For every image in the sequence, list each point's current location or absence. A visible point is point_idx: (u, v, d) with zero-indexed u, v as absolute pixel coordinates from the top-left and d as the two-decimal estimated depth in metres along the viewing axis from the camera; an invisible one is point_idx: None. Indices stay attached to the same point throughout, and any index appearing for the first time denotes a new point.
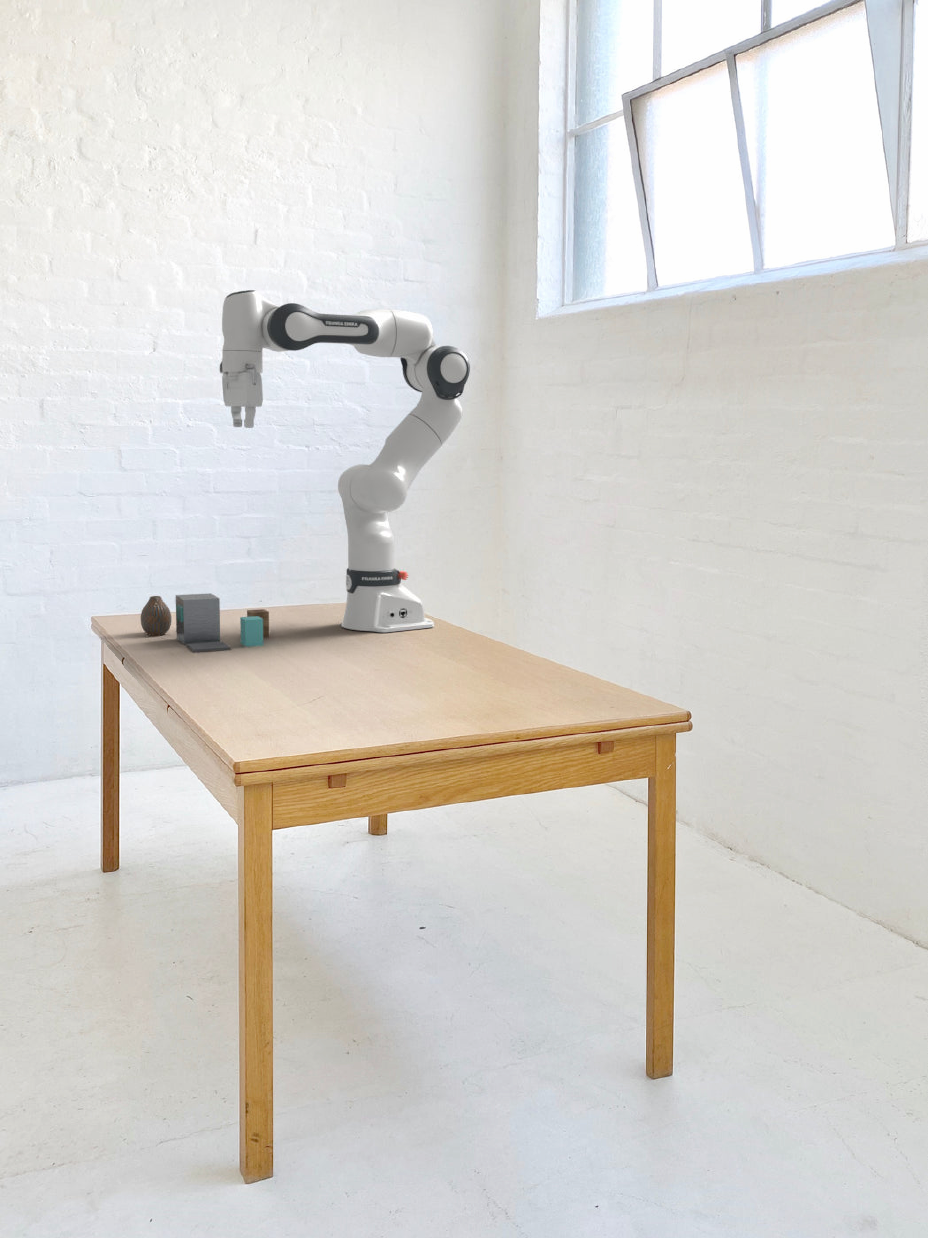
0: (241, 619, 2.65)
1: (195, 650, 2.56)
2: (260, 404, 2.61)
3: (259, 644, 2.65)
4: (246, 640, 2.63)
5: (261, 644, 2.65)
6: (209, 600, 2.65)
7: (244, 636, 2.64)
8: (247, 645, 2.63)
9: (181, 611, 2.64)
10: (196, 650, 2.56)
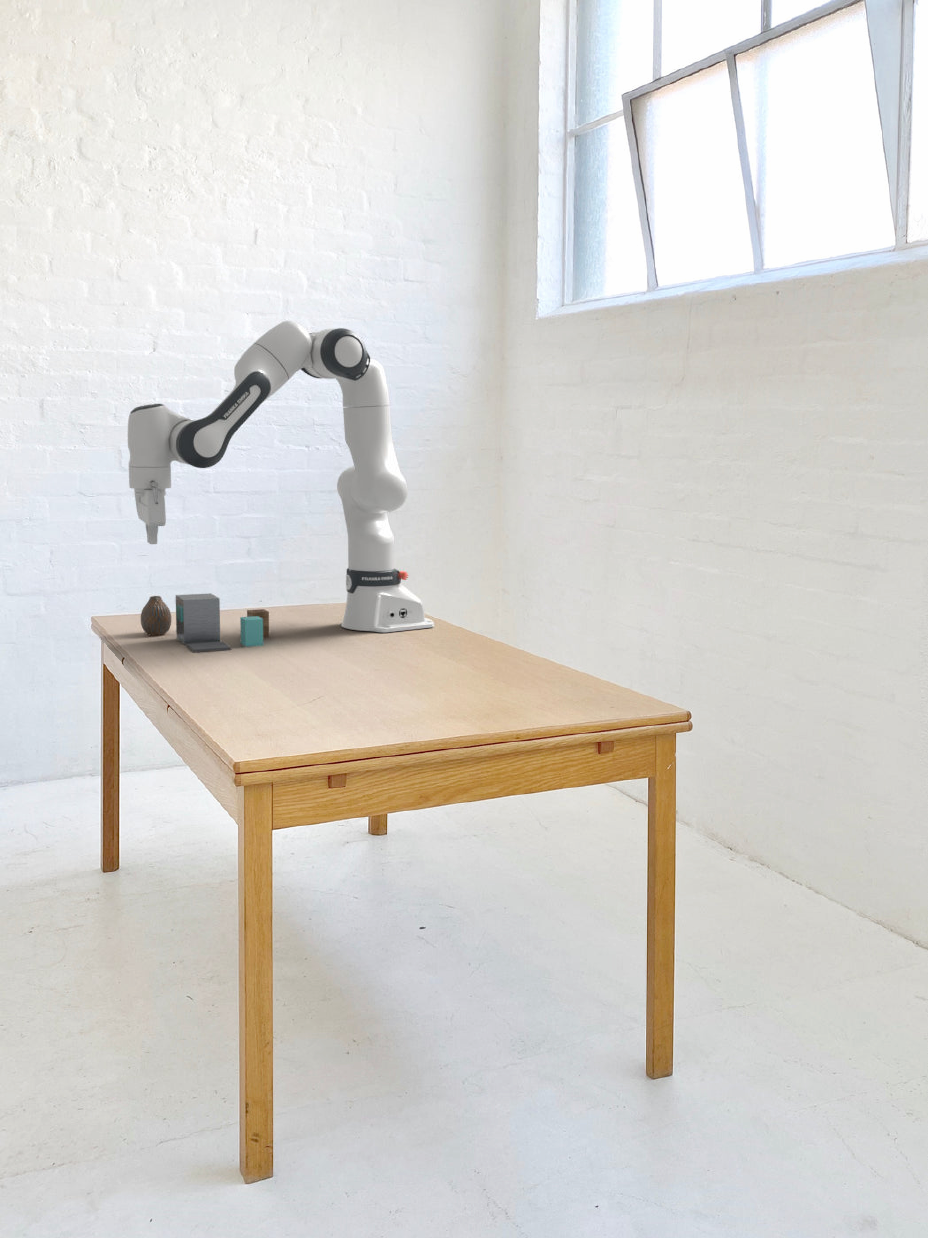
0: (241, 619, 2.65)
1: (195, 650, 2.56)
2: (163, 524, 2.52)
3: (259, 644, 2.65)
4: (246, 640, 2.63)
5: (261, 644, 2.65)
6: (209, 600, 2.65)
7: (244, 636, 2.64)
8: (247, 645, 2.63)
9: (181, 611, 2.64)
10: (196, 650, 2.56)
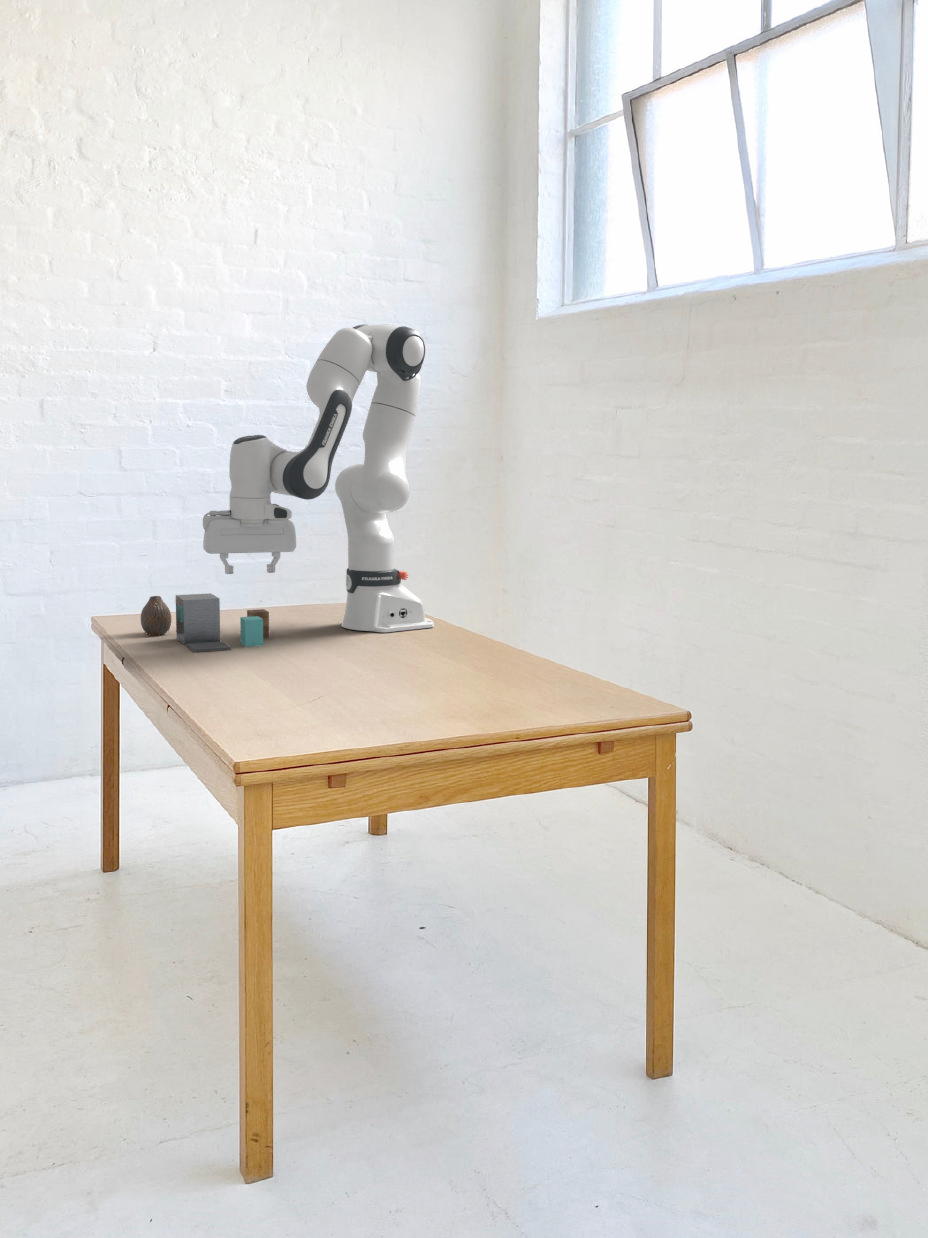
0: (241, 619, 2.65)
1: (195, 650, 2.56)
2: (207, 551, 2.57)
3: (259, 644, 2.65)
4: (246, 640, 2.63)
5: (261, 644, 2.65)
6: (209, 600, 2.65)
7: (244, 636, 2.64)
8: (247, 645, 2.63)
9: (181, 611, 2.64)
10: (196, 650, 2.56)
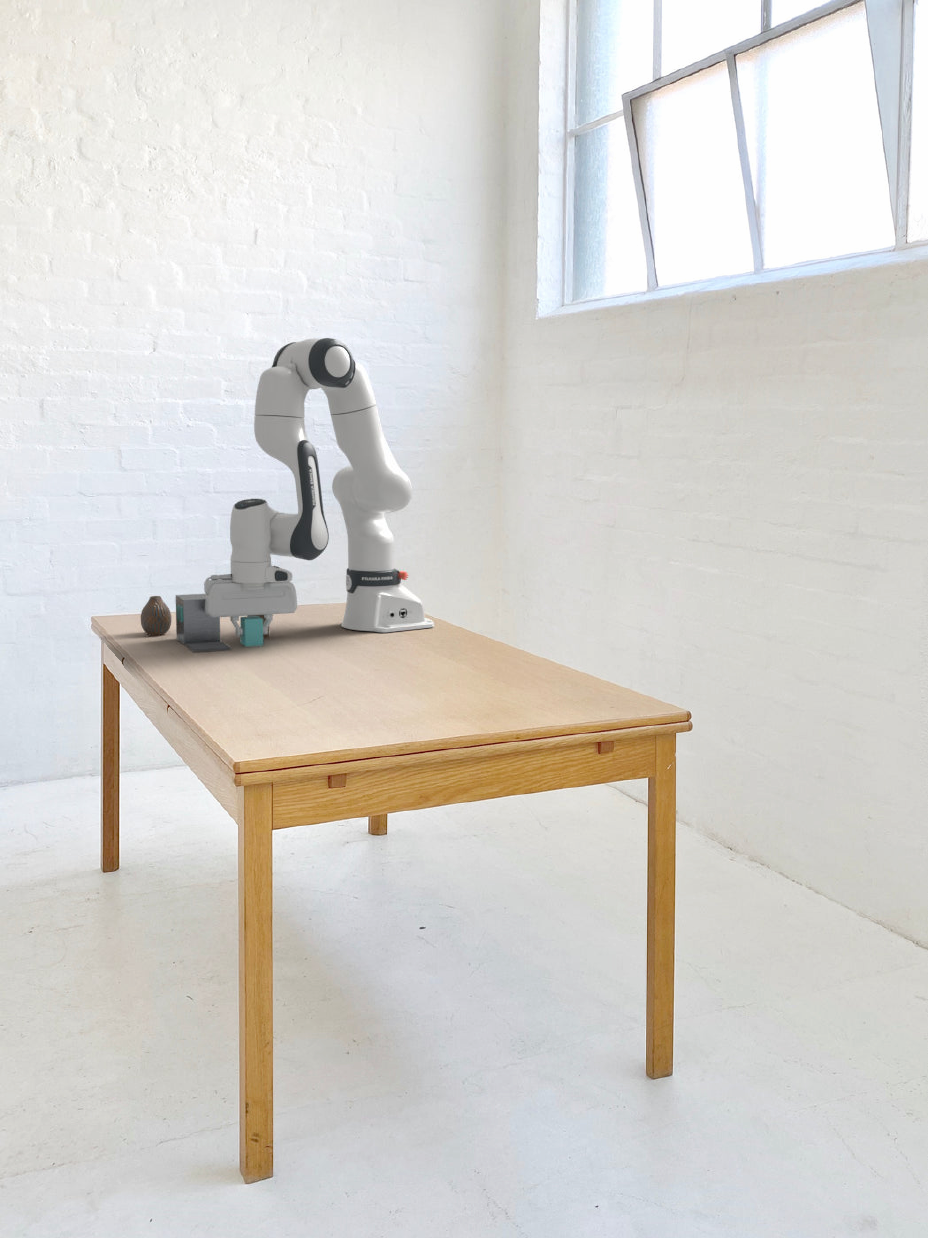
0: (241, 619, 2.65)
1: (195, 650, 2.56)
2: (209, 615, 2.60)
3: (259, 644, 2.65)
4: (246, 640, 2.63)
5: (261, 644, 2.65)
6: None
7: (244, 636, 2.64)
8: (247, 645, 2.63)
9: (181, 611, 2.64)
10: (196, 650, 2.56)
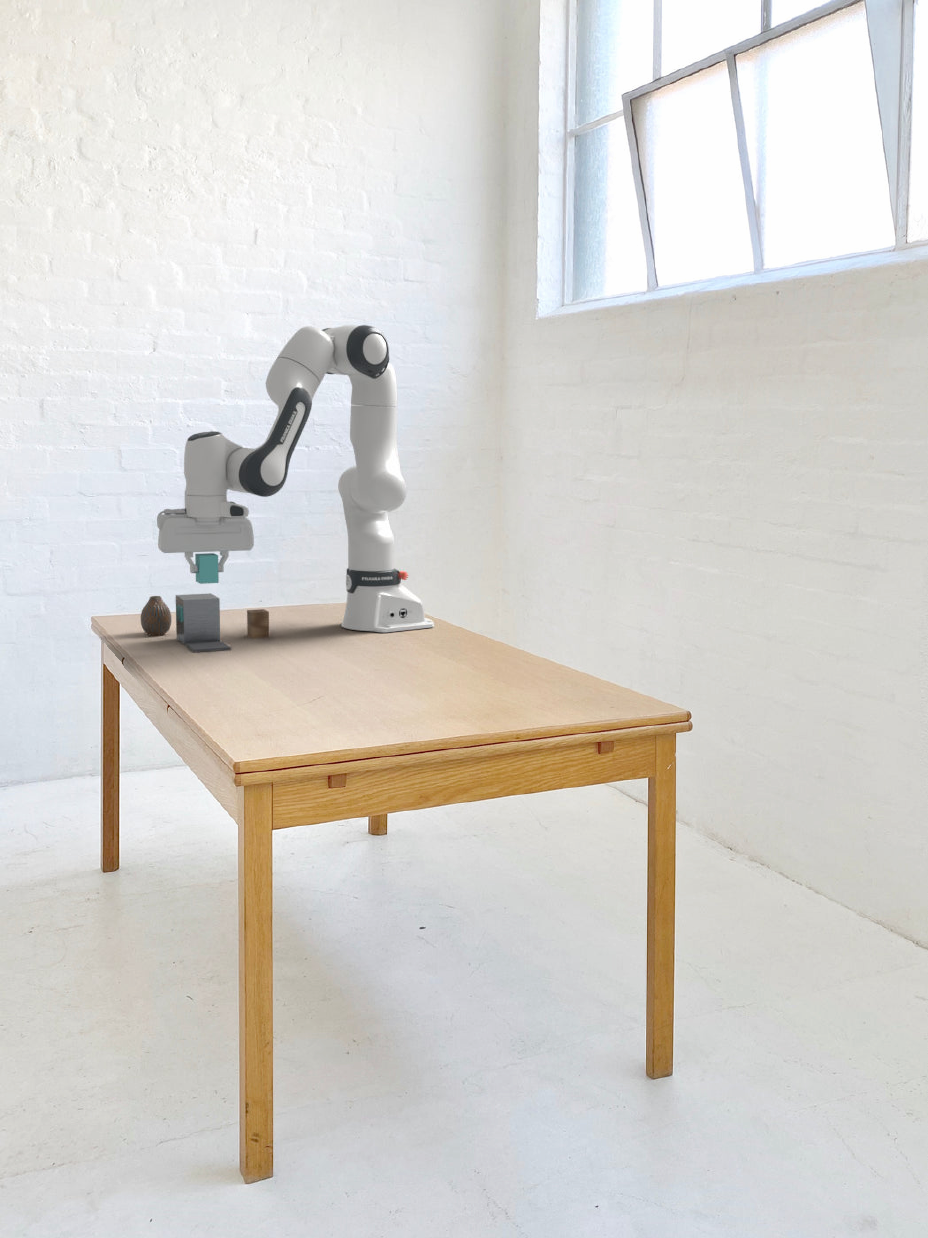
0: (196, 556, 2.57)
1: (195, 650, 2.56)
2: (162, 550, 2.52)
3: (214, 581, 2.57)
4: (201, 577, 2.56)
5: (216, 582, 2.57)
6: (209, 600, 2.65)
7: (199, 573, 2.56)
8: (202, 582, 2.56)
9: (181, 611, 2.64)
10: (196, 650, 2.56)
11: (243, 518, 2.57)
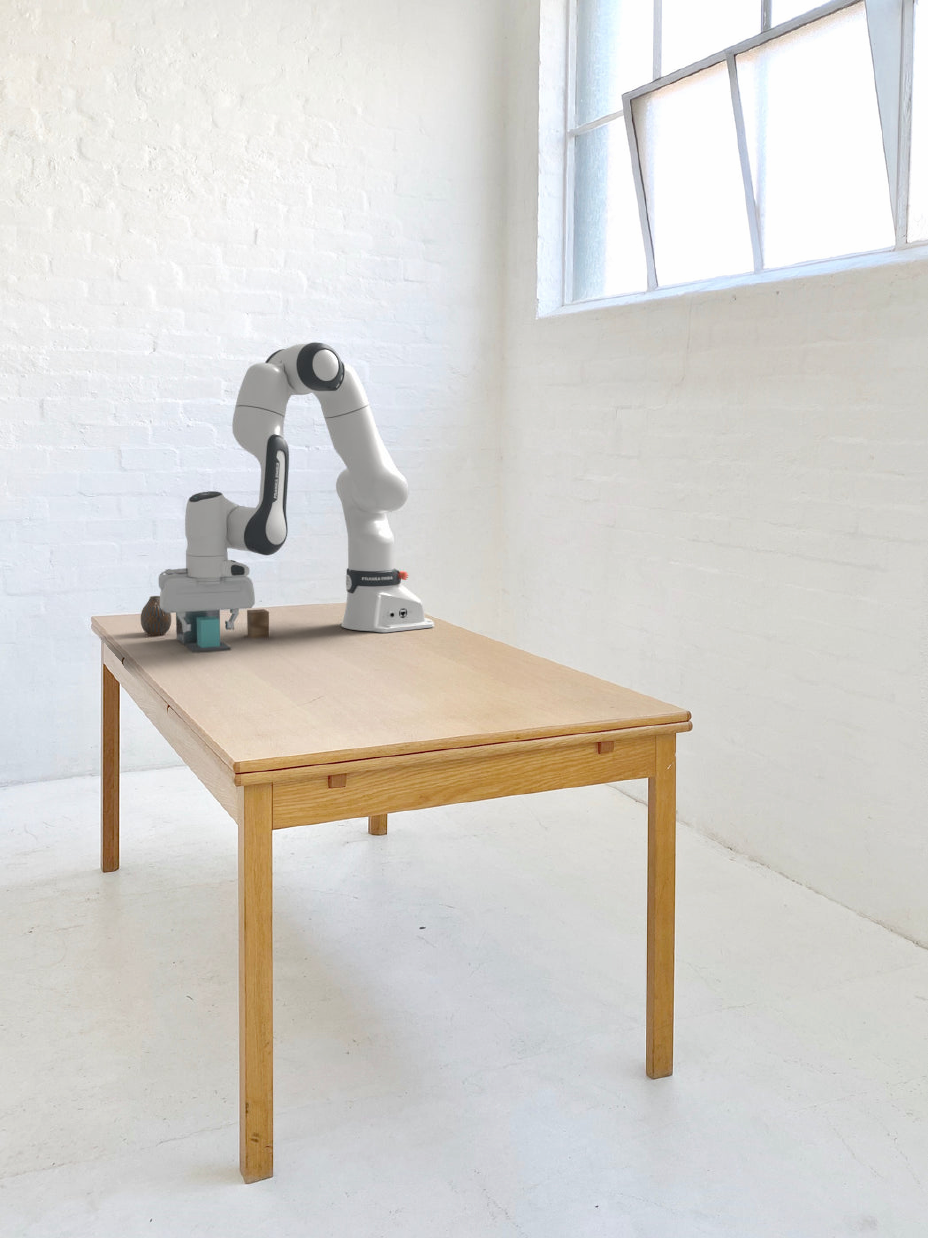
0: (197, 620, 2.60)
1: (195, 650, 2.56)
2: (164, 610, 2.54)
3: (215, 645, 2.59)
4: (202, 641, 2.58)
5: (217, 645, 2.60)
6: None
7: (200, 637, 2.58)
8: (203, 646, 2.58)
9: None
10: (196, 650, 2.56)
11: (244, 577, 2.59)
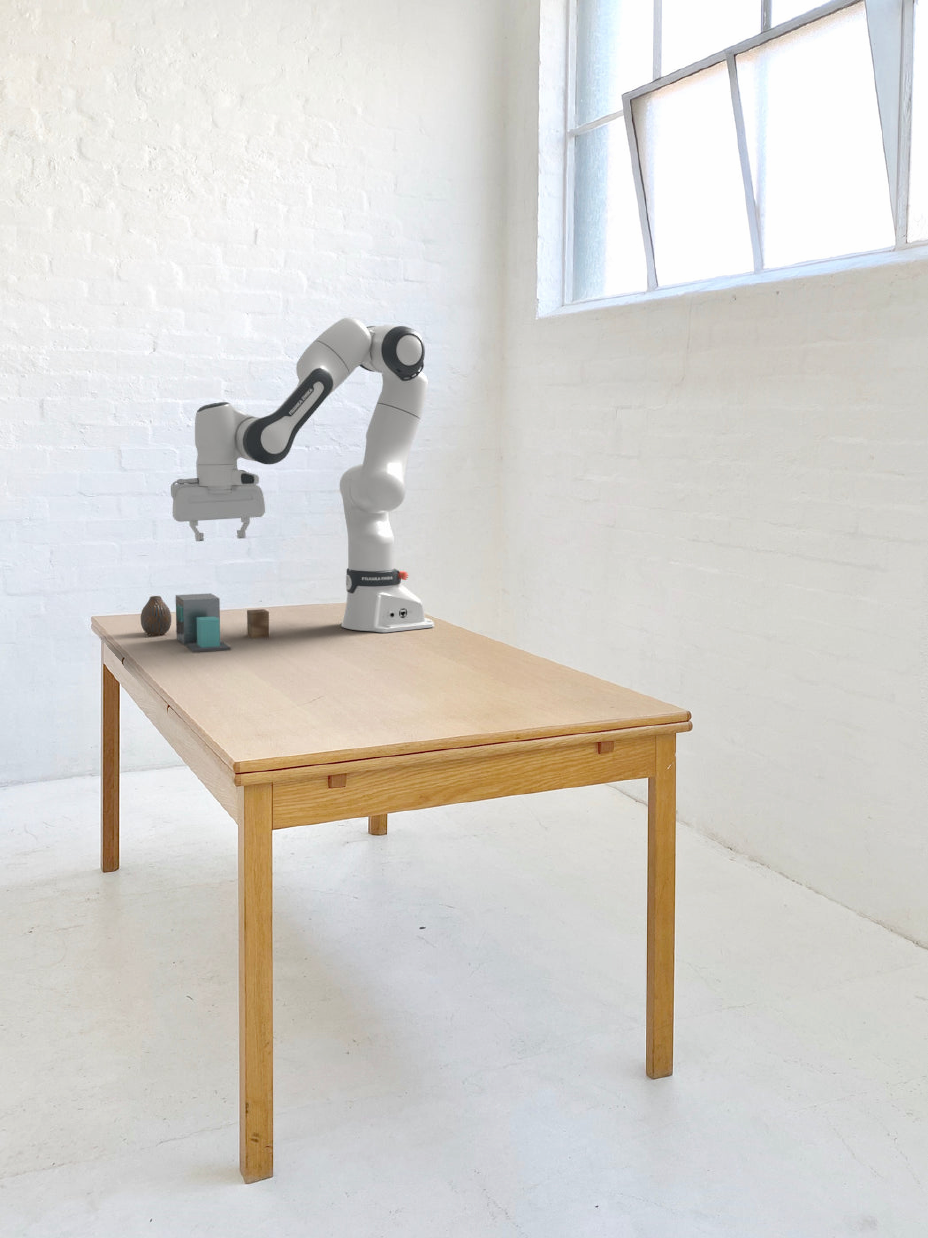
0: (197, 620, 2.60)
1: (195, 650, 2.56)
2: (177, 519, 2.60)
3: (215, 645, 2.59)
4: (202, 641, 2.58)
5: (217, 645, 2.60)
6: (209, 600, 2.65)
7: (200, 637, 2.58)
8: (203, 646, 2.58)
9: (181, 611, 2.64)
10: (196, 650, 2.56)
11: (254, 485, 2.65)
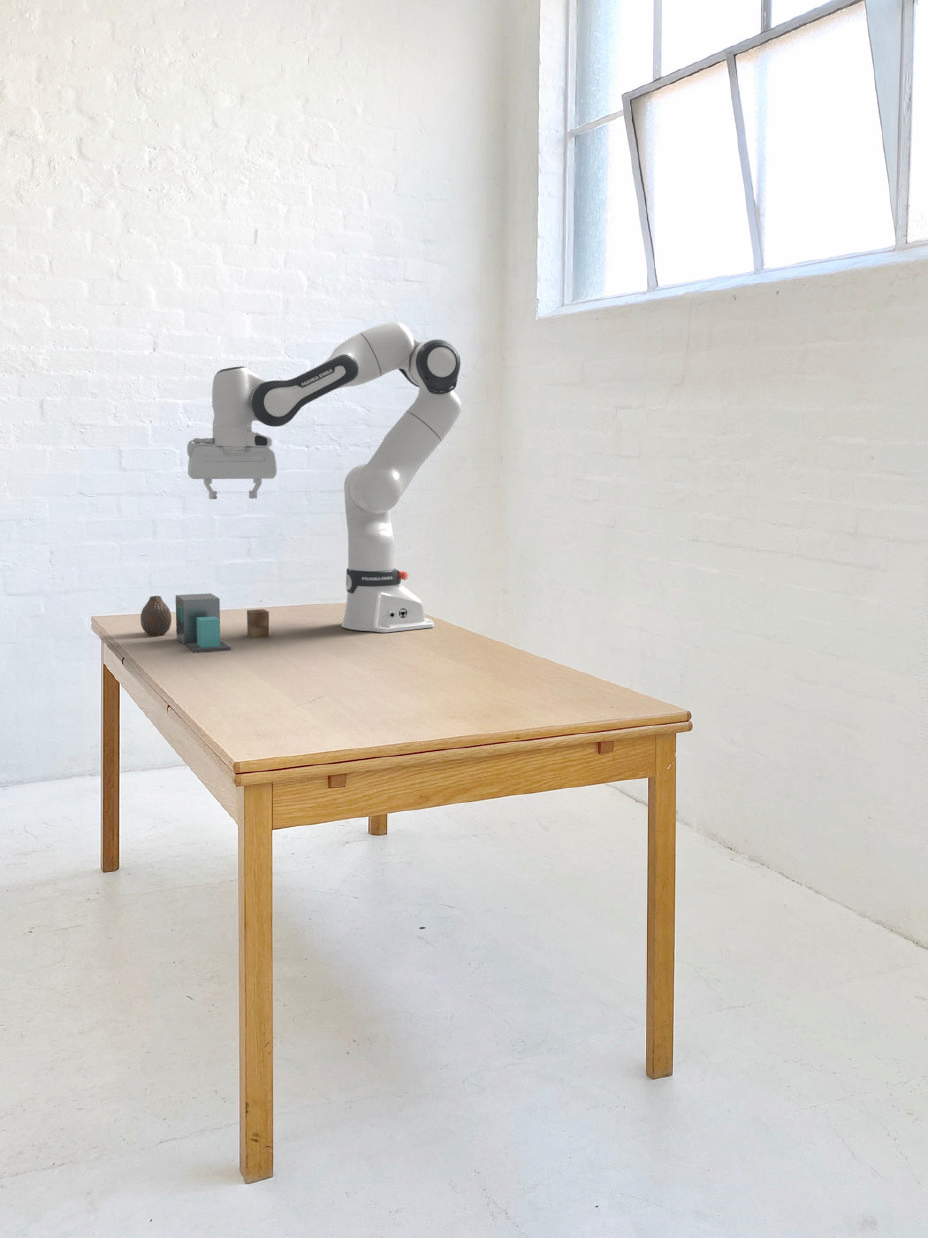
0: (197, 620, 2.60)
1: (195, 650, 2.56)
2: (192, 477, 2.71)
3: (215, 645, 2.59)
4: (202, 641, 2.58)
5: (217, 645, 2.60)
6: (209, 600, 2.65)
7: (200, 637, 2.58)
8: (203, 646, 2.58)
9: (181, 611, 2.64)
10: (196, 650, 2.56)
11: (267, 448, 2.76)
